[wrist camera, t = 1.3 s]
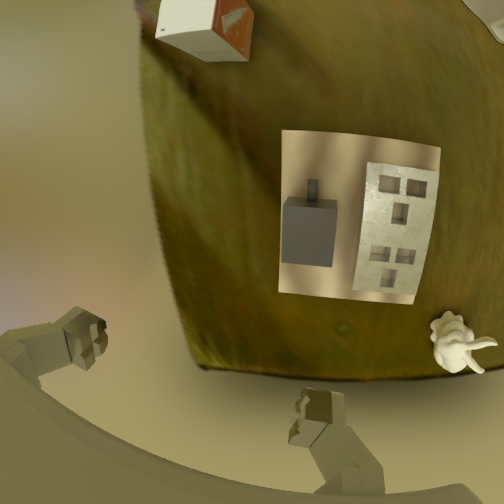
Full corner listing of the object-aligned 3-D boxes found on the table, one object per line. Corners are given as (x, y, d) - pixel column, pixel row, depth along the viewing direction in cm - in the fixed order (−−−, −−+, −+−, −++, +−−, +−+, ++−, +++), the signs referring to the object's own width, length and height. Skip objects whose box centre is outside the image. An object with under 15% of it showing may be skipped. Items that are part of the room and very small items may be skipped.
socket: (432, 170, 28) (439, 172, 25) (411, 285, 34) (415, 295, 32) (364, 160, 30) (367, 161, 28) (351, 280, 36) (352, 289, 34)
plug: (337, 177, 32) (339, 186, 26) (332, 245, 35) (332, 267, 29) (291, 173, 33) (283, 182, 27) (289, 241, 36) (281, 262, 31)
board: (435, 147, 28) (440, 147, 26) (409, 297, 37) (412, 304, 35) (284, 130, 33) (281, 130, 31) (280, 284, 42) (278, 291, 40)
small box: (250, 62, 30) (211, 30, 19) (205, 63, 31) (152, 39, 20) (256, 12, 27) (222, -33, 15) (212, 15, 28) (165, -21, 16)
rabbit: (420, 314, 37) (439, 367, 27) (469, 289, 33) (499, 335, 23) (434, 360, 40) (448, 410, 29) (477, 338, 36) (498, 385, 25)
